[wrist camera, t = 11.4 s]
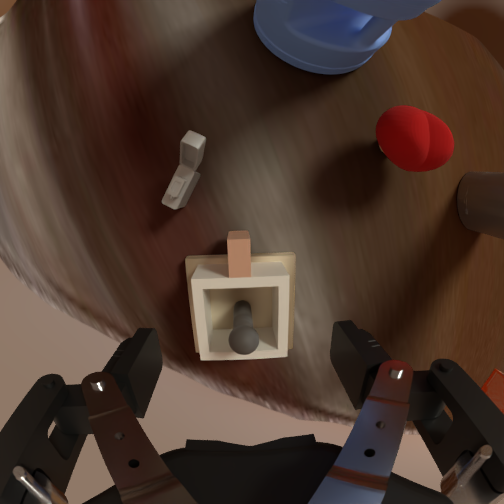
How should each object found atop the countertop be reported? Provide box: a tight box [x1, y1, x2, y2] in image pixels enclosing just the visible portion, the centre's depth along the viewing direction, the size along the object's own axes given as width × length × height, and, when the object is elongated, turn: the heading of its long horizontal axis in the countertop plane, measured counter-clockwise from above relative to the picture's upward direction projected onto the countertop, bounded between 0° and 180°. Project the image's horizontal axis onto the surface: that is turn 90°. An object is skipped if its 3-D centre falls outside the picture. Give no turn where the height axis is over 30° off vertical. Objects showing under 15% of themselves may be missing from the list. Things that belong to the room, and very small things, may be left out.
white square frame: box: [191, 231, 290, 360], centre depth 28 cm, size 9×12×5 cm
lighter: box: [162, 130, 206, 210], centre depth 25 cm, size 7×2×8 cm, turn 152°
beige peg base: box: [185, 252, 295, 355], centre depth 27 cm, size 12×12×10 cm
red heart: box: [376, 105, 454, 172], centre depth 24 cm, size 9×7×10 cm
